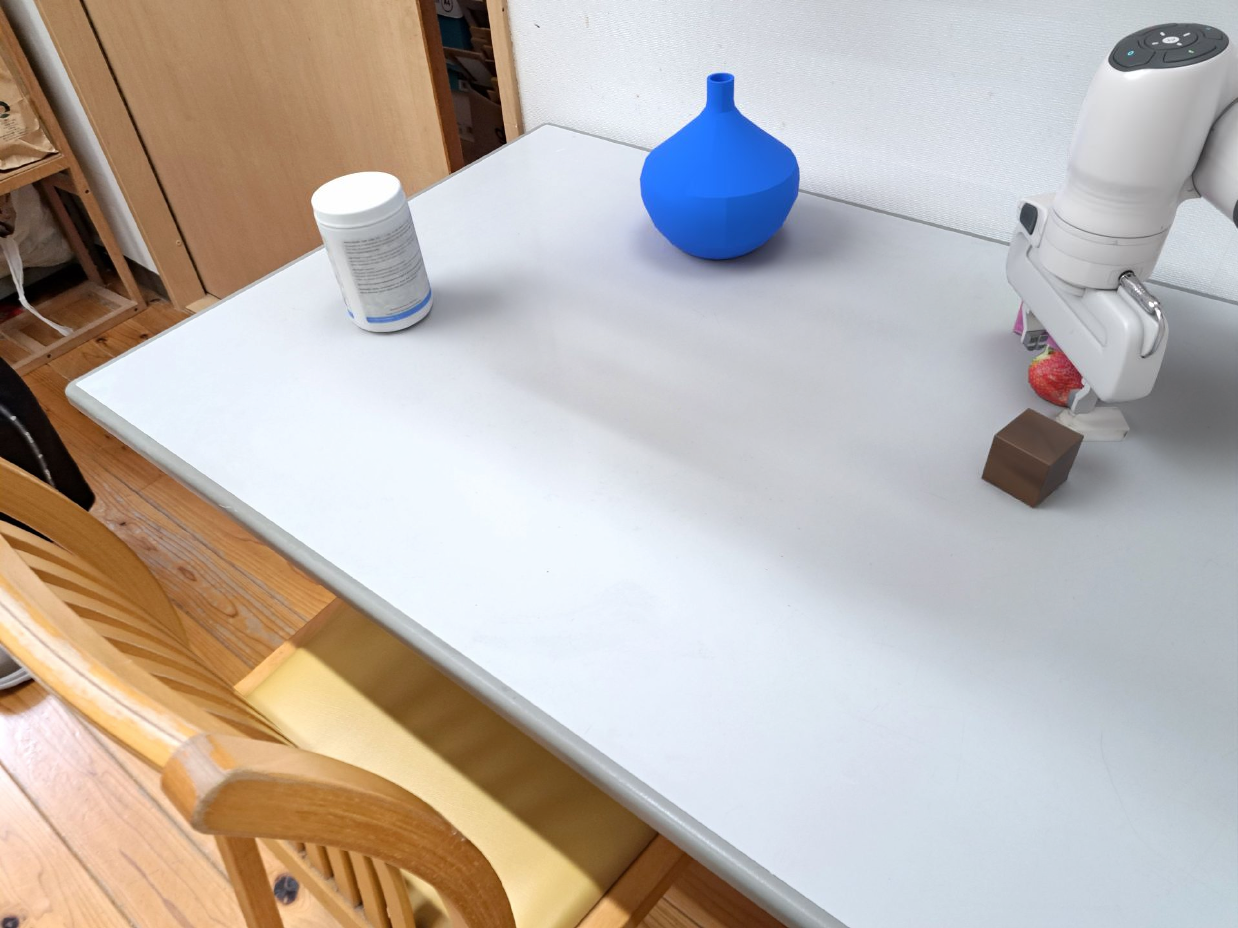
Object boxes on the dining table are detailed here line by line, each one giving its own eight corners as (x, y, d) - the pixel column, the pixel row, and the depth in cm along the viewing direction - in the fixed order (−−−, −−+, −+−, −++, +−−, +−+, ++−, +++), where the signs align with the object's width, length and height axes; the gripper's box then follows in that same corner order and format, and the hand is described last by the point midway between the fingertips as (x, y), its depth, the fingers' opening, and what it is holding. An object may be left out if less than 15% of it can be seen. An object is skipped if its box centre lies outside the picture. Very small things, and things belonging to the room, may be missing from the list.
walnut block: (1014, 450, 78) (1028, 407, 74) (1067, 479, 75) (1084, 435, 71) (980, 478, 76) (994, 434, 72) (1033, 508, 73) (1050, 465, 69)
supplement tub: (450, 297, 102) (422, 177, 91) (403, 343, 96) (367, 220, 85) (382, 282, 105) (347, 164, 95) (332, 326, 99) (289, 205, 89)
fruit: (1059, 421, 80) (1076, 378, 77) (1010, 386, 84) (1023, 343, 80) (1093, 405, 81) (1111, 362, 78) (1043, 371, 85) (1057, 329, 82)
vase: (697, 297, 98) (696, 128, 85) (615, 231, 110) (603, 74, 97) (826, 246, 104) (844, 82, 91) (735, 189, 116) (740, 35, 103)
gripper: (1212, 309, 65) (1147, 447, 74) (1079, 183, 80) (1039, 312, 89) (1128, 319, 65) (1073, 456, 74) (1010, 190, 79) (977, 319, 89)
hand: (1054, 376), depth 82 cm, fingers open, 8 cm apart
